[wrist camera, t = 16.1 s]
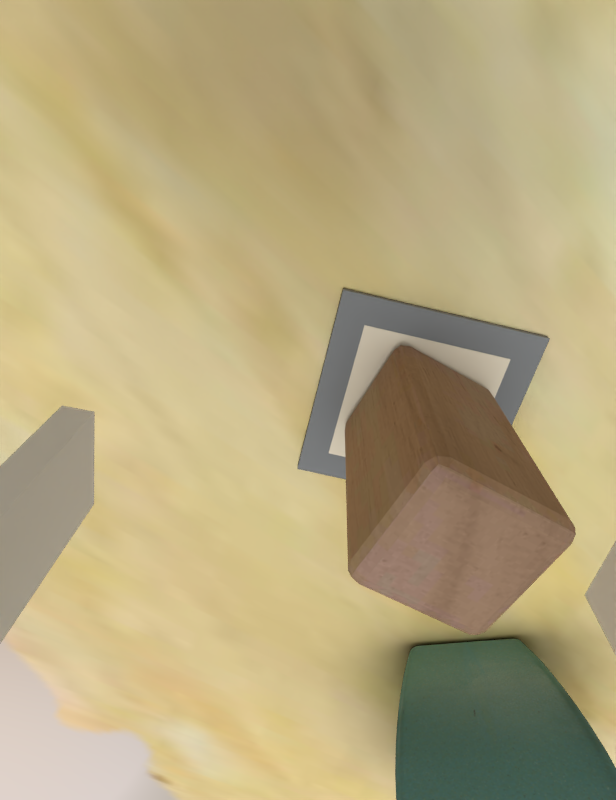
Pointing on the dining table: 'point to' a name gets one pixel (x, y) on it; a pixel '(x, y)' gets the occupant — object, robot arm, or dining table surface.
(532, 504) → the wooden block
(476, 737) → the flower pot
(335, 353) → the mat
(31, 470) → the robot arm
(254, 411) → the dining table surface
